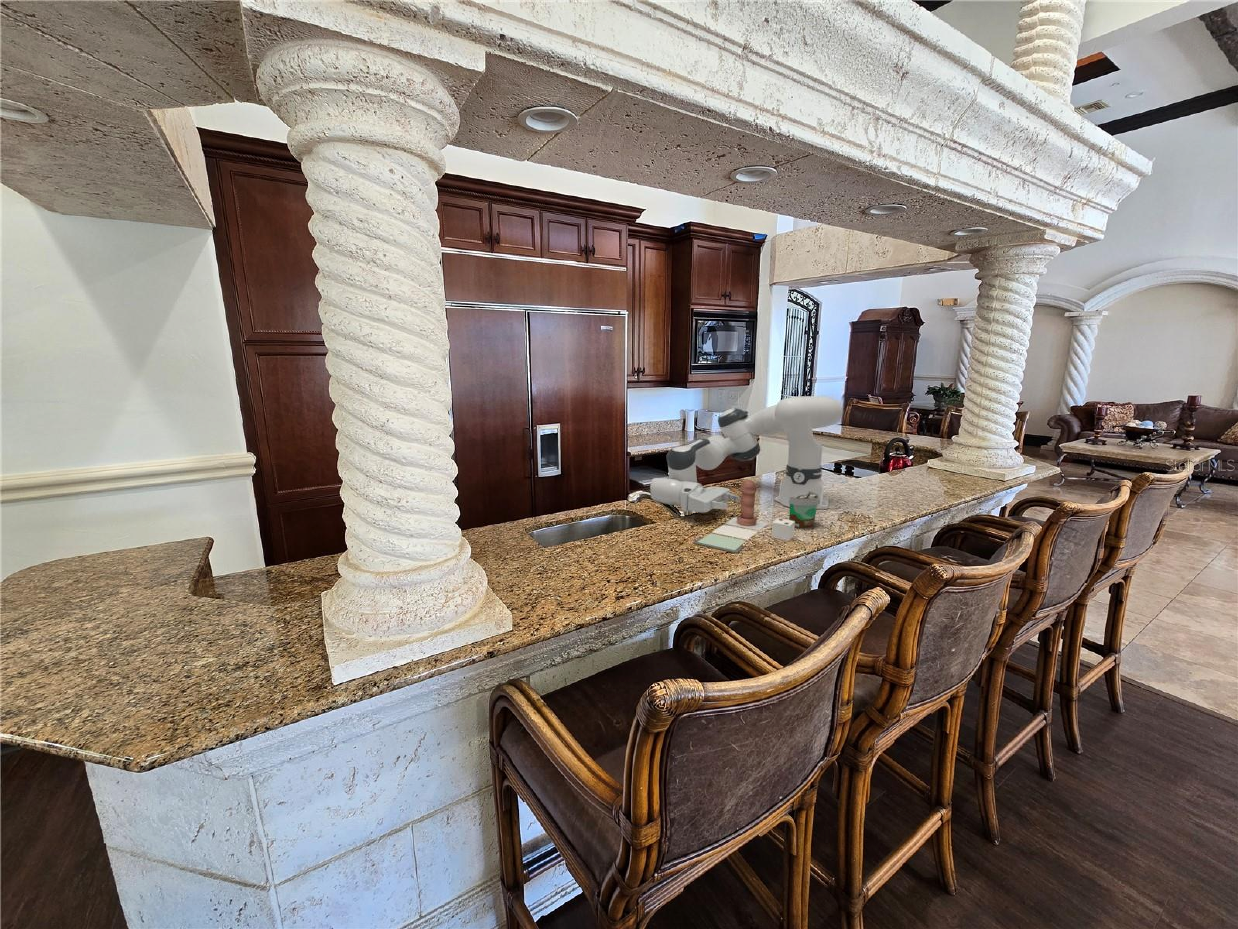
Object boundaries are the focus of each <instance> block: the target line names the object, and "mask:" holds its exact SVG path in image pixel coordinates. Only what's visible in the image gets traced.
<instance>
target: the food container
mask: <svg viewBox="0 0 1238 929" xmlns="http://www.w3.org/2000/svg"><path fill="white" fill-rule="evenodd" d="M819 503H820V498H819V495H818V494H816V493H814V492H810V491H809V492H808V494H807V495H801V496H798V497H797V498H793V497H790V499H789V504H790V507H789V517H788V518H789V519H788V520H791V521H795V526H794V529H795V528H797V529H810V528H813V527H815V526H814V525H815V520H816V515H817V514H816V513H817V510H818V509H817V505H818V504H819Z"/></svg>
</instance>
